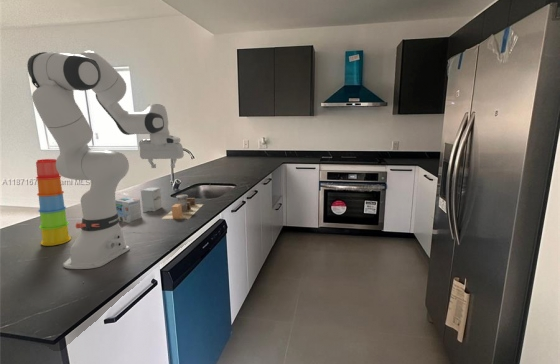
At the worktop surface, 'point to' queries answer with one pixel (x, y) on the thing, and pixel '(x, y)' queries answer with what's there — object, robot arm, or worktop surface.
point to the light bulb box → (128, 209)
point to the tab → (176, 211)
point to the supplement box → (151, 199)
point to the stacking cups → (51, 204)
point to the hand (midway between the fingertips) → (163, 167)
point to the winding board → (184, 215)
